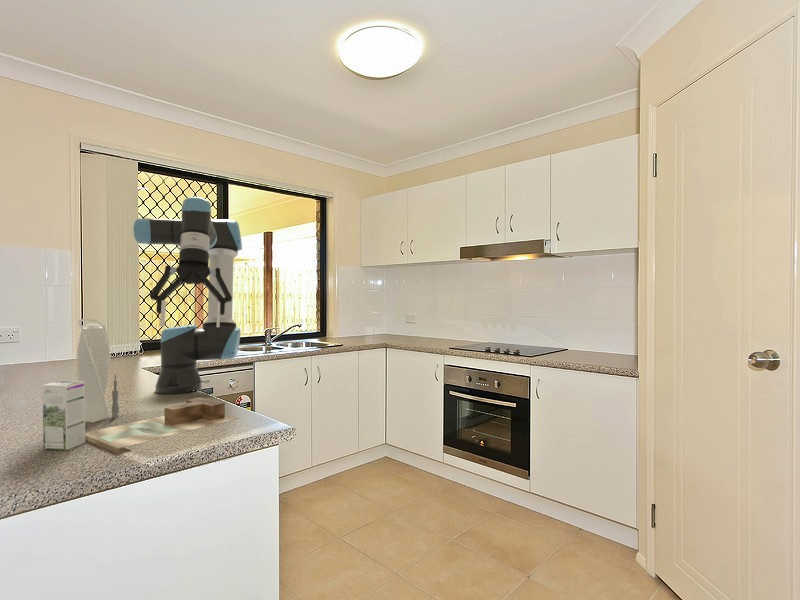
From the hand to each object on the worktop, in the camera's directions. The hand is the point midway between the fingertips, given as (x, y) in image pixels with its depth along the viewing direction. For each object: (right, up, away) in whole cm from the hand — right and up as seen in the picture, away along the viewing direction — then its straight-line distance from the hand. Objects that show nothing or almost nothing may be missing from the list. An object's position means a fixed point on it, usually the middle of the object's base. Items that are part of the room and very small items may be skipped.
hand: (190, 326), depth 122 cm
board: (-3, -26, -7) cm, 27 cm away
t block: (+1, -25, -1) cm, 25 cm away
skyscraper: (-25, -26, -1) cm, 36 cm away
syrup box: (-19, -26, -20) cm, 38 cm away
